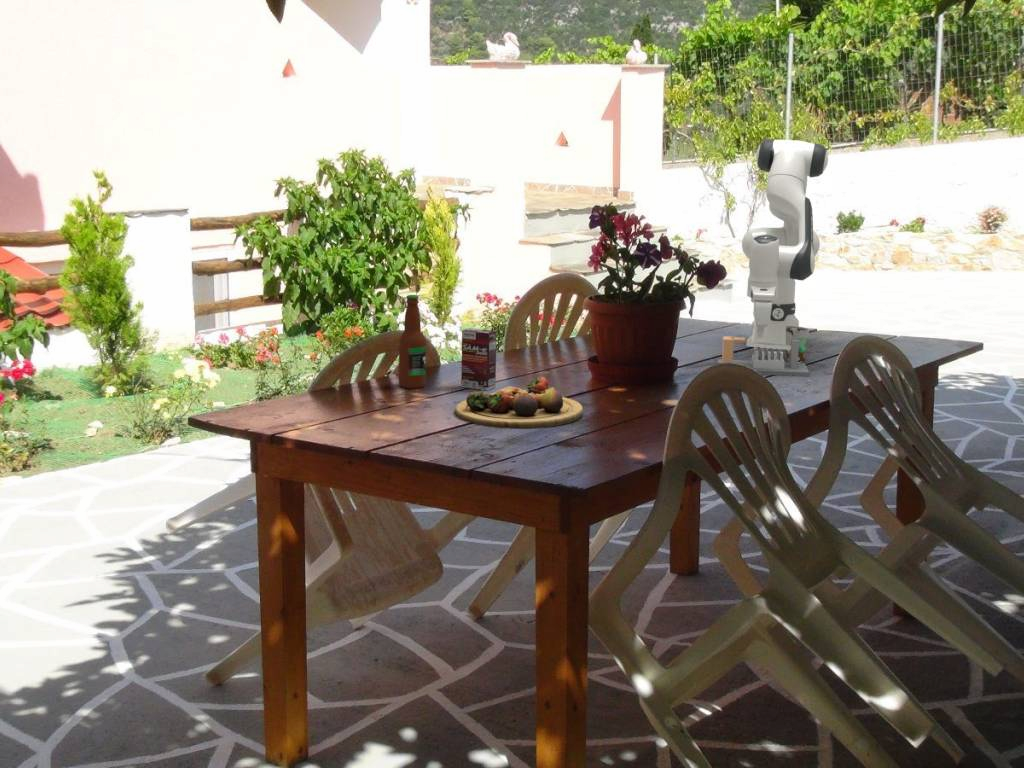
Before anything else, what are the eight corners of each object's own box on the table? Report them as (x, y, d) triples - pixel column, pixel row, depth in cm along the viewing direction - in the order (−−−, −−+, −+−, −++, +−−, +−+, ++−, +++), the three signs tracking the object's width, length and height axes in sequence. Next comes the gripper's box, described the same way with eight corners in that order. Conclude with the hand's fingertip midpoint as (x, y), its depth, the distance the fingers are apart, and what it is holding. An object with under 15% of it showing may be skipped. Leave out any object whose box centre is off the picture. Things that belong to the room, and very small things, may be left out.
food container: (811, 364, 395) (813, 332, 393) (791, 363, 395) (793, 331, 393) (803, 357, 407) (805, 326, 405) (784, 356, 407) (786, 325, 405)
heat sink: (717, 363, 393) (719, 332, 392) (804, 366, 390) (806, 335, 388) (719, 372, 378) (720, 340, 376) (809, 376, 375) (811, 344, 373)
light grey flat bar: (746, 345, 385) (746, 340, 384) (796, 349, 383) (796, 344, 383) (746, 346, 382) (747, 342, 382) (796, 351, 380) (797, 346, 380)
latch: (721, 361, 388) (723, 336, 387) (743, 362, 387) (744, 337, 386) (722, 364, 382) (723, 339, 381) (744, 365, 381) (745, 340, 380)
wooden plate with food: (510, 396, 341) (510, 365, 340) (608, 412, 322) (609, 380, 320) (428, 418, 317) (427, 385, 316) (529, 437, 297) (529, 402, 296)
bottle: (417, 389, 346) (417, 297, 341) (394, 387, 349) (393, 296, 344) (430, 385, 352) (430, 294, 347) (407, 382, 355) (407, 293, 350)
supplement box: (460, 387, 350) (460, 330, 347) (469, 384, 354) (469, 327, 351) (488, 390, 346) (488, 332, 343) (496, 387, 350) (497, 330, 347)
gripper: (750, 285, 390) (747, 330, 393) (753, 295, 370) (750, 342, 373) (771, 286, 389) (768, 331, 392) (775, 296, 370) (772, 343, 373)
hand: (759, 336), depth 383 cm, fingers closed
